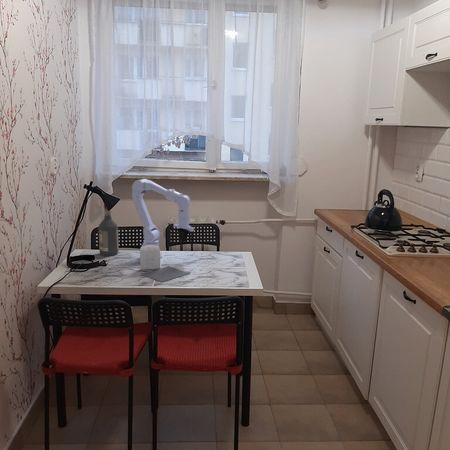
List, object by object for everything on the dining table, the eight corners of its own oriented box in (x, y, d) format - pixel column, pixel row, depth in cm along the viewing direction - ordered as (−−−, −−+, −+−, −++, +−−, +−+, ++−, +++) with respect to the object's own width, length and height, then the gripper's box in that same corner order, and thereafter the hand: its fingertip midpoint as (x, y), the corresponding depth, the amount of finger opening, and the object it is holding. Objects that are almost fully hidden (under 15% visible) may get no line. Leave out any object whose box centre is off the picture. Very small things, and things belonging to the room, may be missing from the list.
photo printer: (160, 266, 230) (159, 243, 228) (160, 269, 226) (159, 245, 223) (140, 268, 228) (139, 244, 226) (140, 270, 224) (139, 246, 222)
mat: (140, 274, 218) (140, 273, 218) (168, 266, 231) (168, 266, 231) (161, 282, 208) (161, 281, 208) (189, 273, 221) (189, 272, 221)
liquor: (112, 250, 259) (111, 200, 253) (120, 254, 253) (118, 202, 246) (98, 253, 254) (96, 201, 247) (105, 256, 247) (103, 204, 240)
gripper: (169, 216, 240) (169, 240, 243) (187, 220, 231) (186, 245, 234) (178, 215, 245) (178, 238, 248) (196, 219, 236) (196, 243, 239)
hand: (183, 242), depth 241 cm, fingers closed
